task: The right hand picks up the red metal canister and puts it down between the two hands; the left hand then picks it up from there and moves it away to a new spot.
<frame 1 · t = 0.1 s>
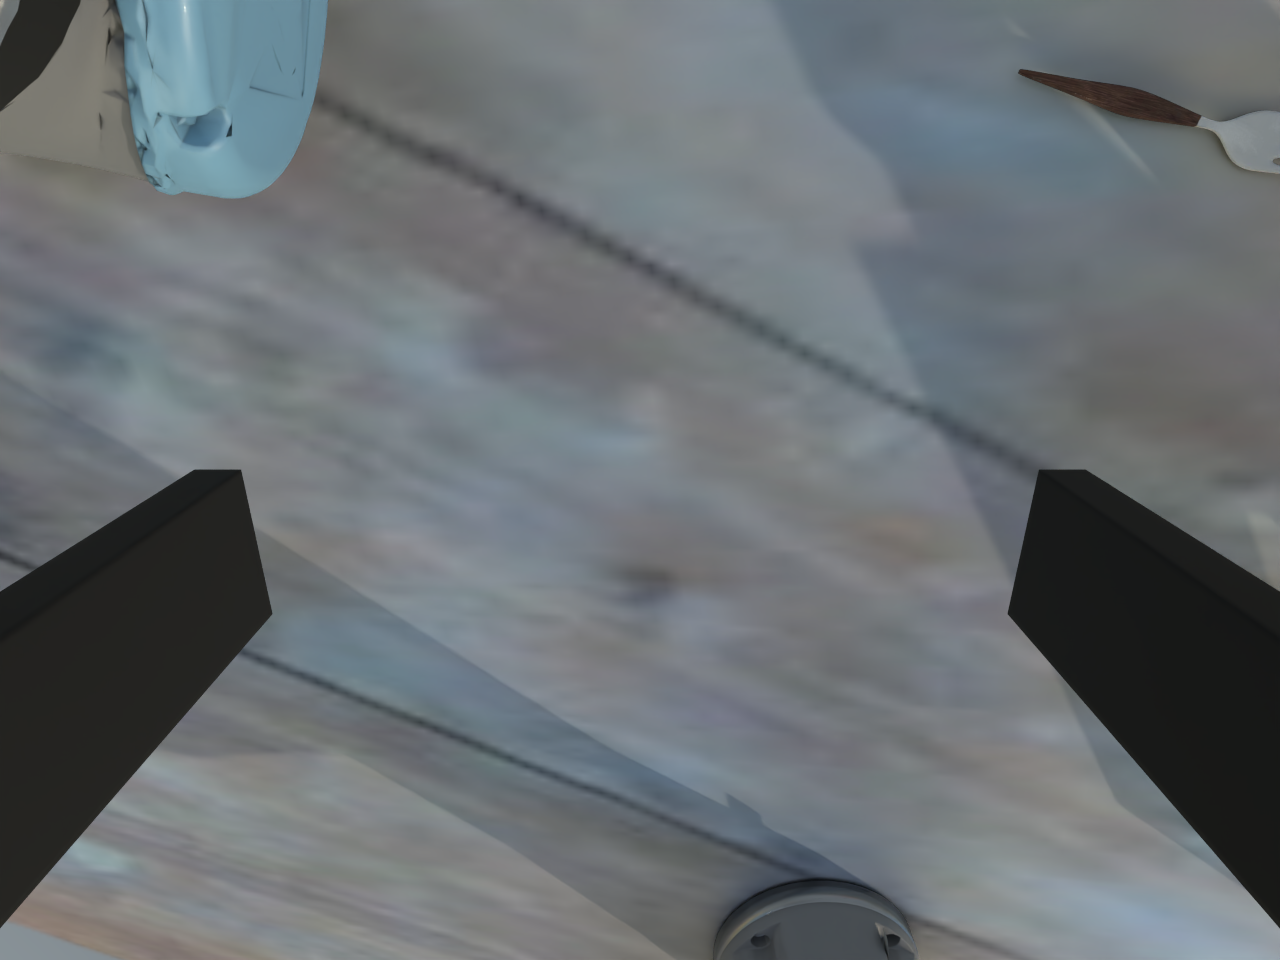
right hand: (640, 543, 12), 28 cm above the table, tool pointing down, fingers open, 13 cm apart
fork: (1165, 116, 35), on the table
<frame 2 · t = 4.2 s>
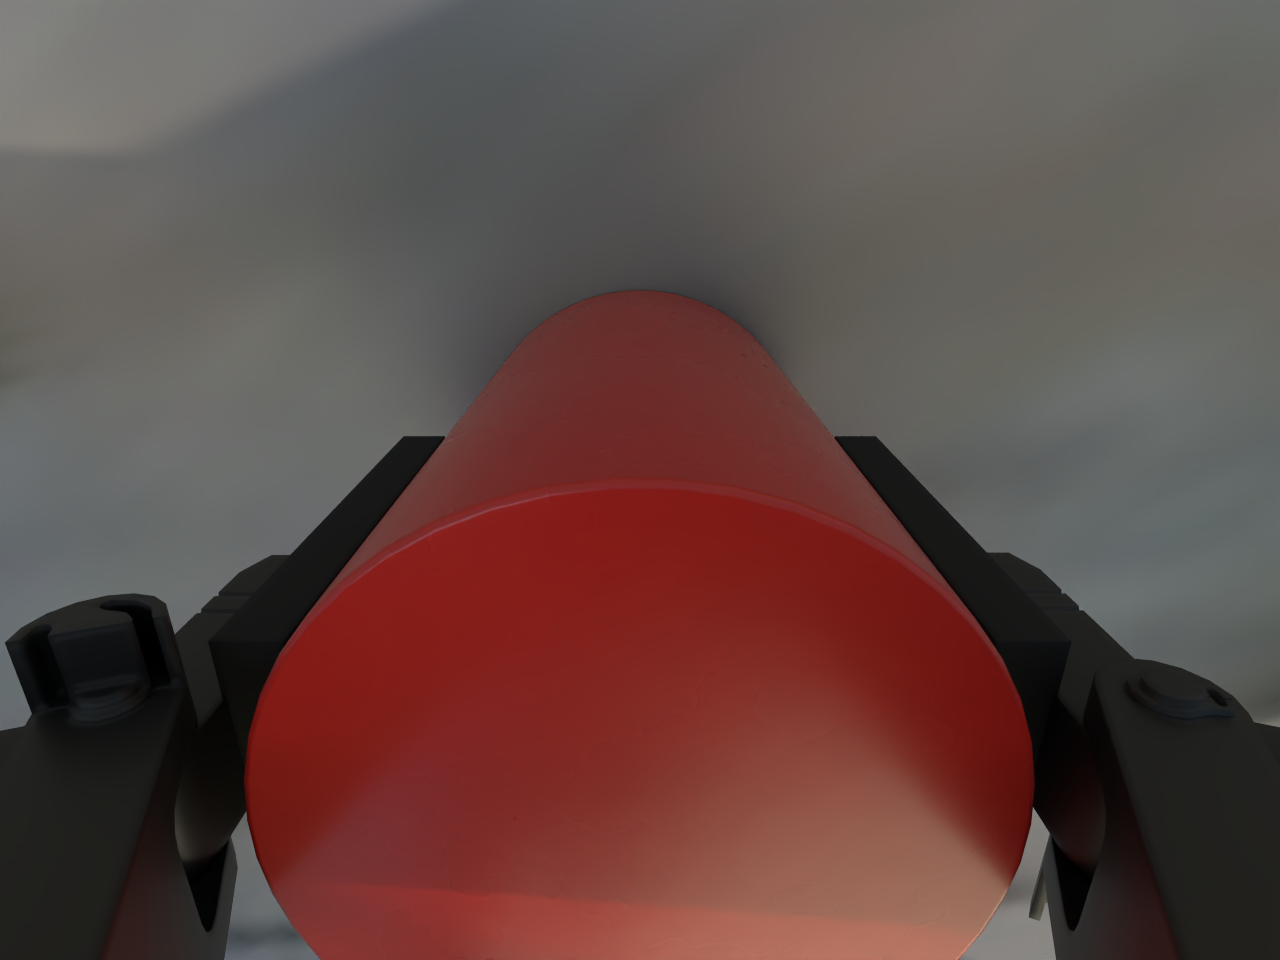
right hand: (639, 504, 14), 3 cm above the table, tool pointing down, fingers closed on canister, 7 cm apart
canister: (639, 449, 17), on the table, touching right hand
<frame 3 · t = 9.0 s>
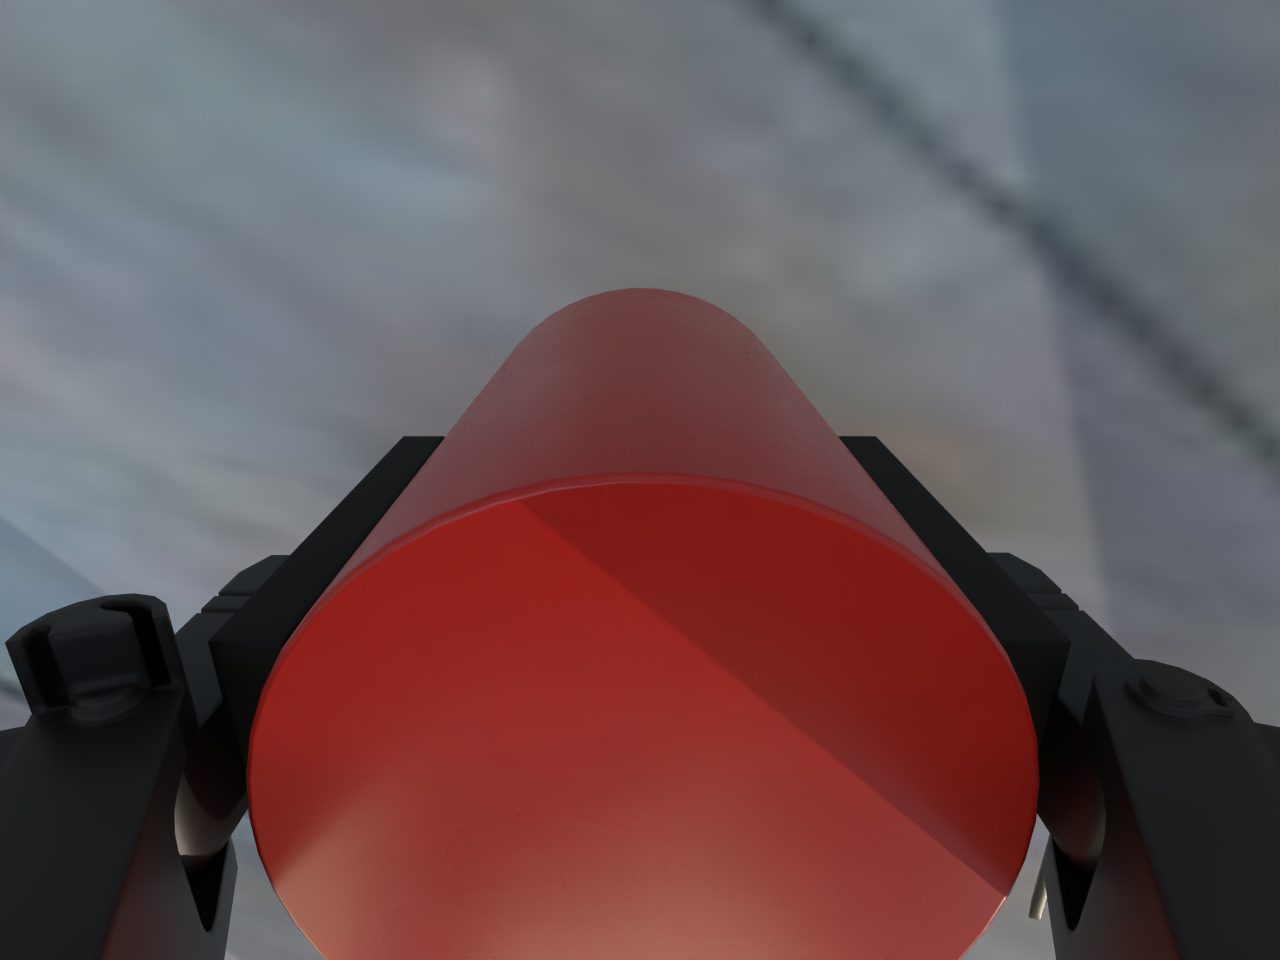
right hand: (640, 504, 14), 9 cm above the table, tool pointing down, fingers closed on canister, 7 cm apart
canister: (641, 447, 17), point 6 cm above the table, touching right hand
when the right hand's fingers open (5 cm above the table, at t = 14.3 s): canister drops 2 cm, on the table.
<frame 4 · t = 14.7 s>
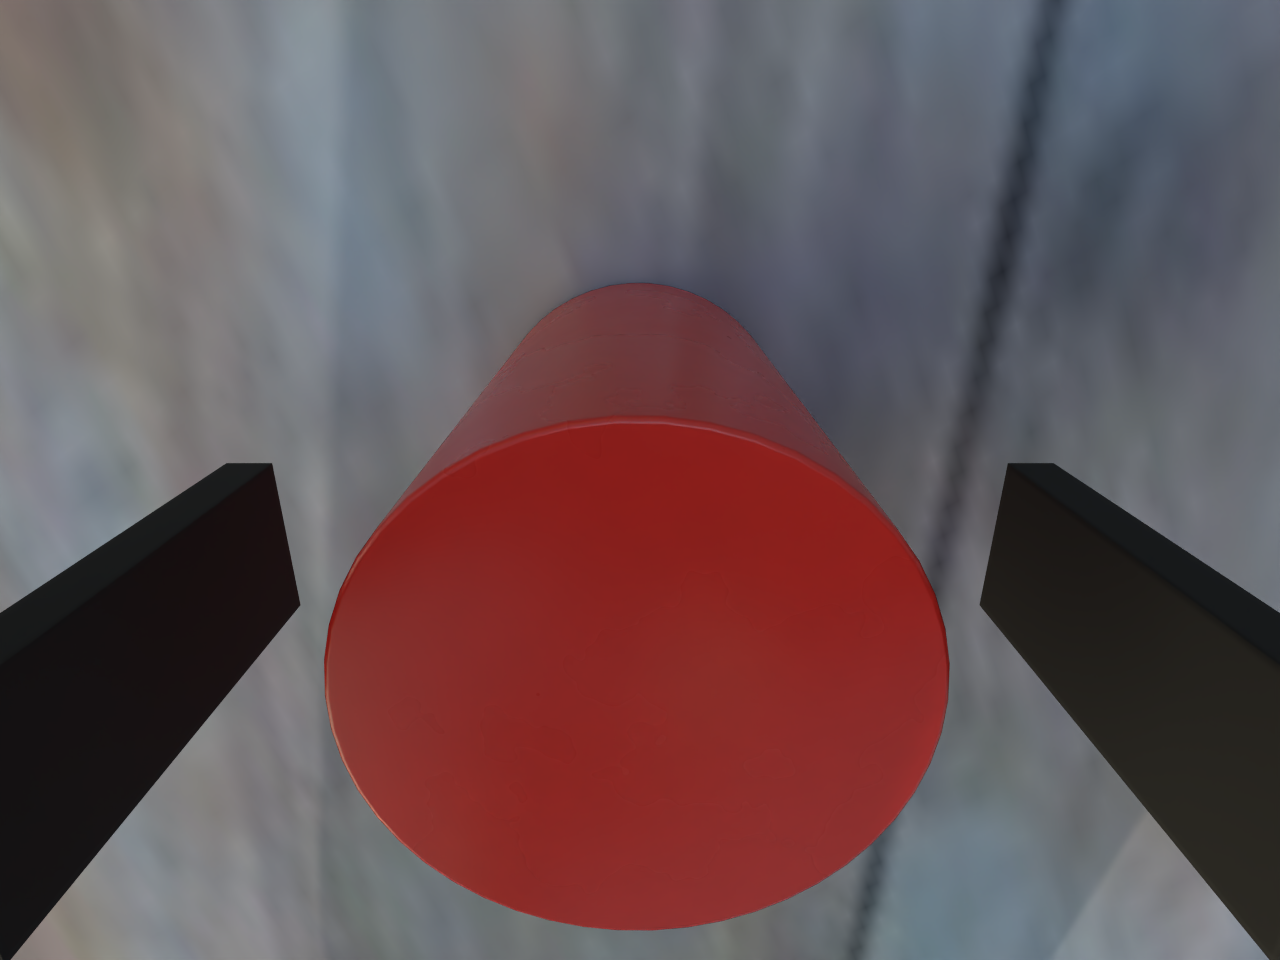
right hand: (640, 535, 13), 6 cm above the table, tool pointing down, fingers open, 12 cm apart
canister: (638, 427, 18), on the table
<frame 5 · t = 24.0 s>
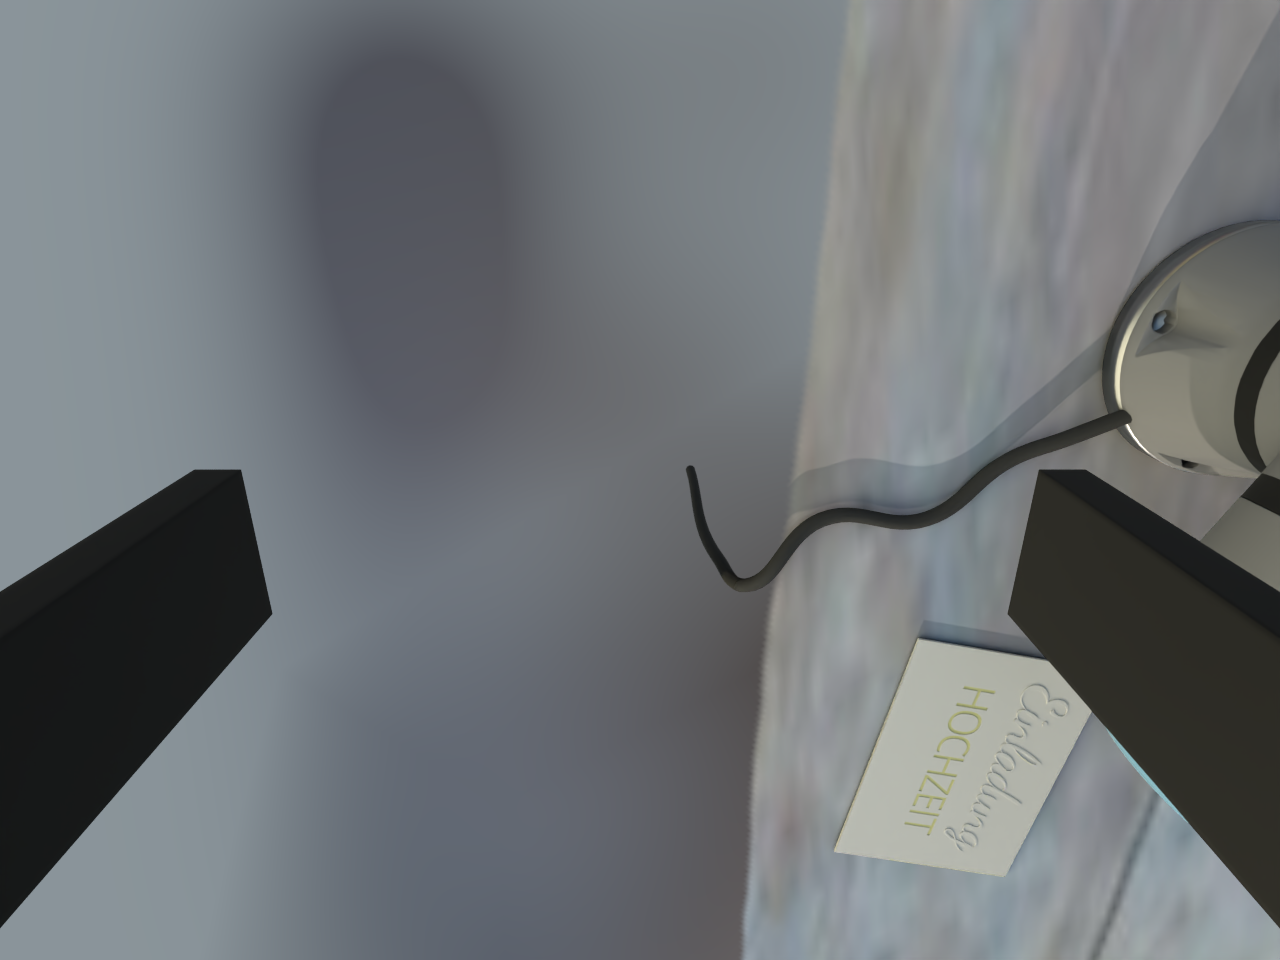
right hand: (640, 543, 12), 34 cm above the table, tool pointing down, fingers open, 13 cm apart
invitation card: (963, 763, 58), on the table
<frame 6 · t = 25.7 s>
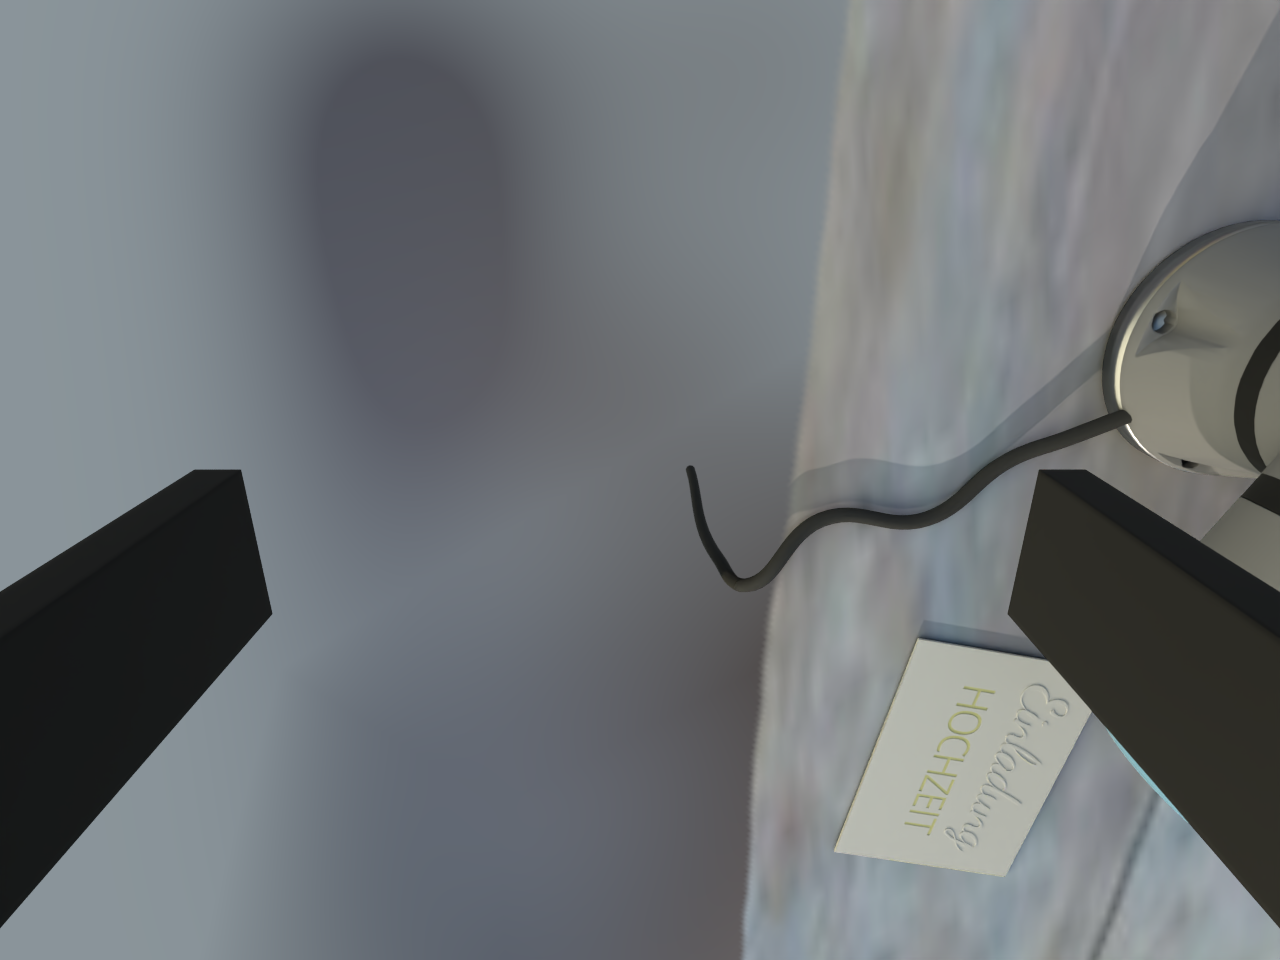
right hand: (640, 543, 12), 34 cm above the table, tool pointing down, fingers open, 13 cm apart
invitation card: (963, 763, 58), on the table
when the left hand's fingers open (5 cm above the table, at t = 27.7 s): canister drops 2 cm, on the table.
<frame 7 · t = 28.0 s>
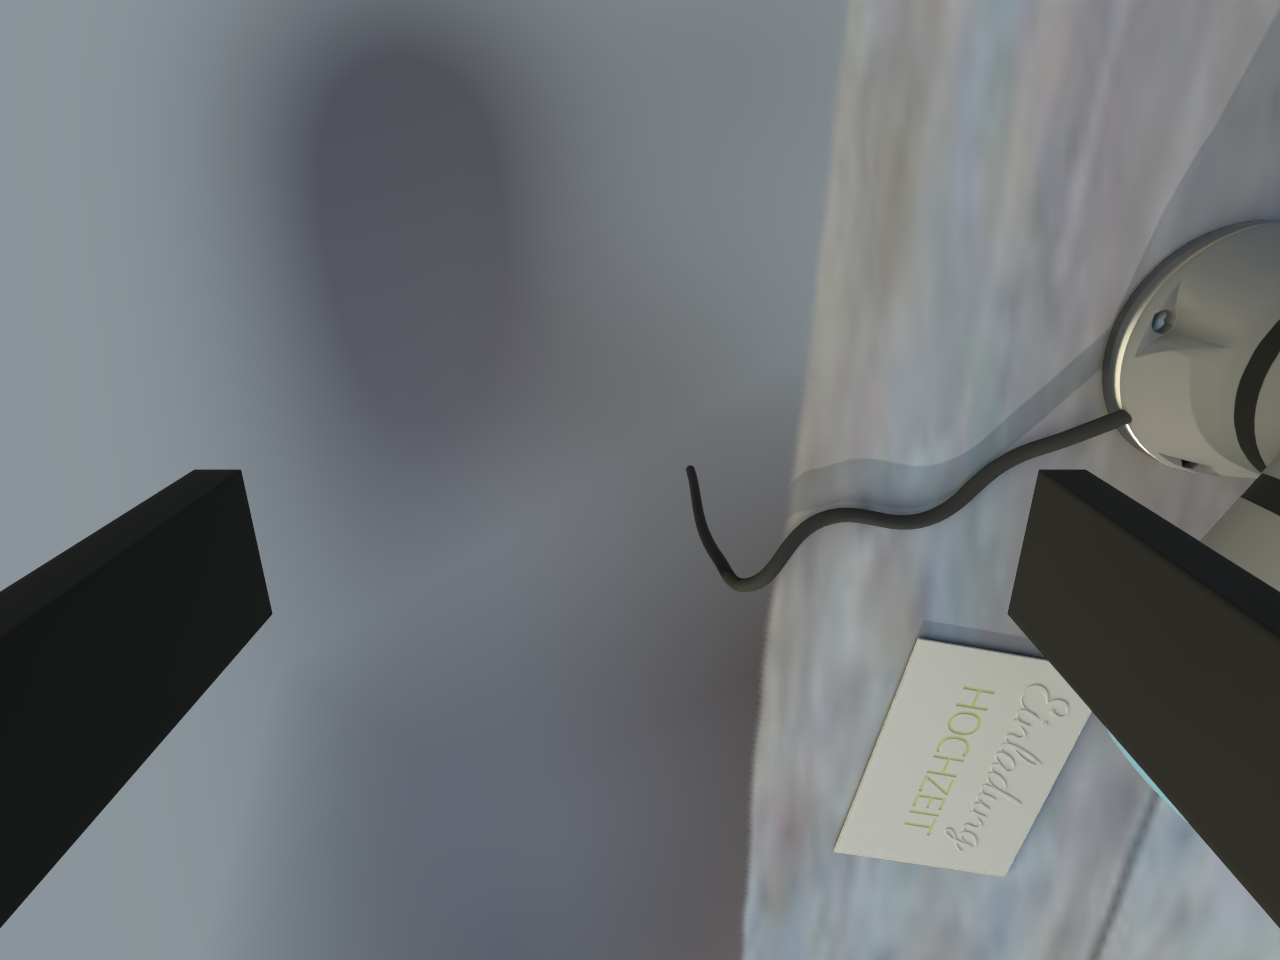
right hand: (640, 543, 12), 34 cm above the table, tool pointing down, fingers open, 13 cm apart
invitation card: (963, 763, 58), on the table
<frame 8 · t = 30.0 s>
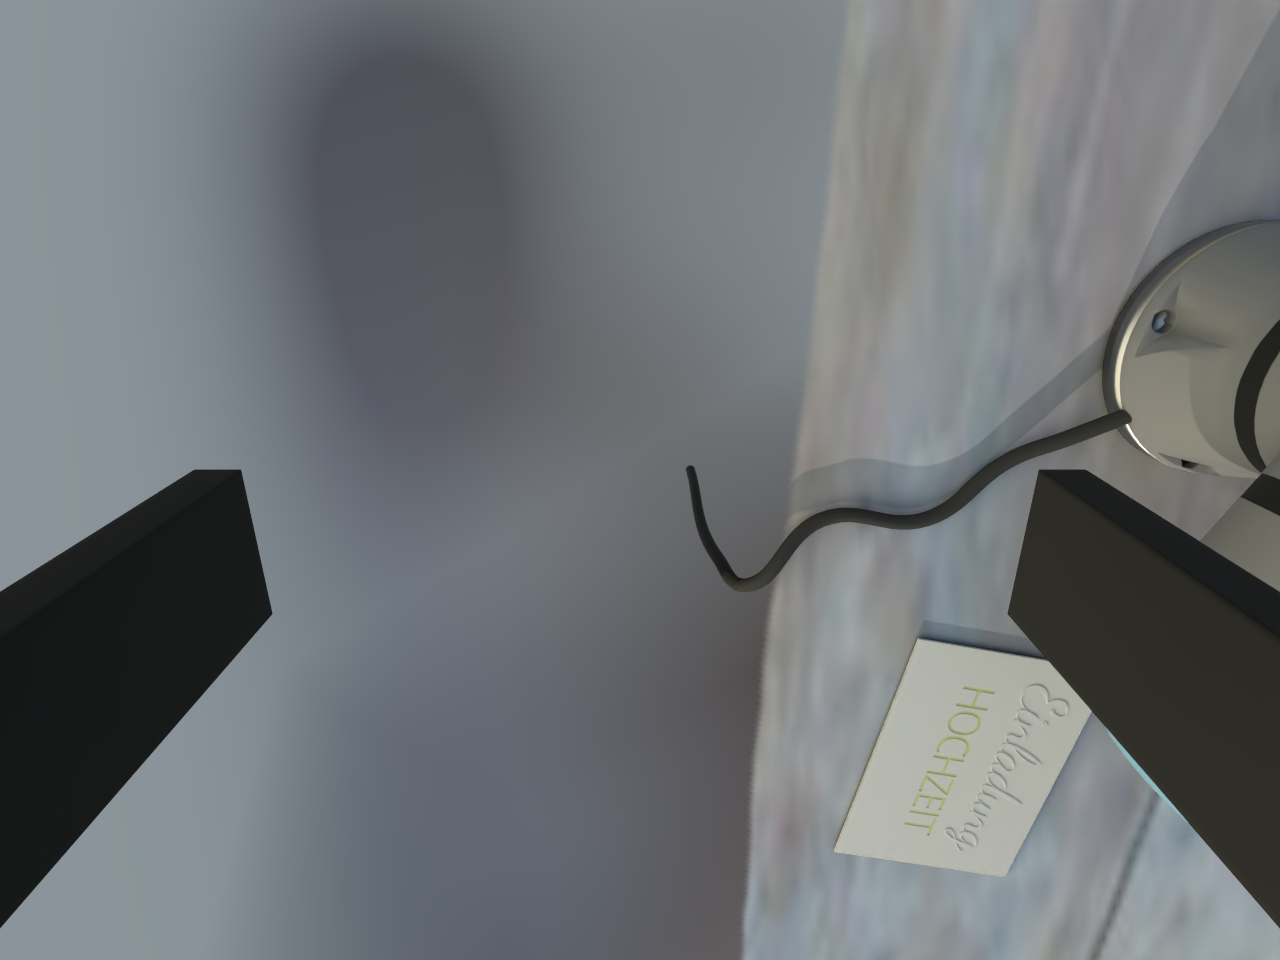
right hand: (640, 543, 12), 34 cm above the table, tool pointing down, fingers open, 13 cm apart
invitation card: (963, 763, 58), on the table
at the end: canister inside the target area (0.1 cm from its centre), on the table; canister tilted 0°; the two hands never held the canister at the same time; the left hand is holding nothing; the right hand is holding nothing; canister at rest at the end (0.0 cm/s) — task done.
